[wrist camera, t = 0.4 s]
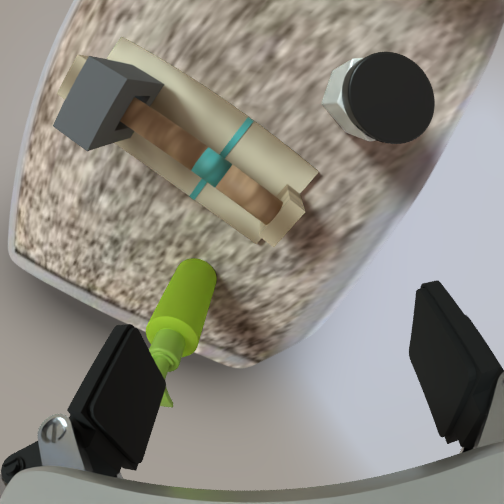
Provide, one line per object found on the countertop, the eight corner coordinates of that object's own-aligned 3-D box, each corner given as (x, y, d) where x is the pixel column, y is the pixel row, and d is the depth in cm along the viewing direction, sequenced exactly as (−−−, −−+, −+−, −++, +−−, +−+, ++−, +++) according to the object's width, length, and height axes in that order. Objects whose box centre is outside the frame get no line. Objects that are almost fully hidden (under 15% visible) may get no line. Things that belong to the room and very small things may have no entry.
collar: (132, 64, 30) (89, 55, 21) (164, 84, 31) (127, 78, 22) (101, 117, 33) (52, 126, 24) (130, 137, 34) (87, 151, 25)
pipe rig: (123, 37, 30) (94, 27, 23) (317, 170, 36) (328, 185, 30) (78, 115, 34) (44, 120, 28) (256, 241, 41) (253, 270, 34)
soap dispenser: (180, 300, 46) (137, 406, 28) (172, 258, 43) (115, 360, 25) (219, 300, 45) (191, 413, 28) (214, 257, 42) (176, 366, 25)
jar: (327, 137, 35) (352, 151, 24) (313, 71, 31) (333, 55, 20) (396, 128, 33) (444, 140, 22) (385, 64, 30) (430, 51, 19)
